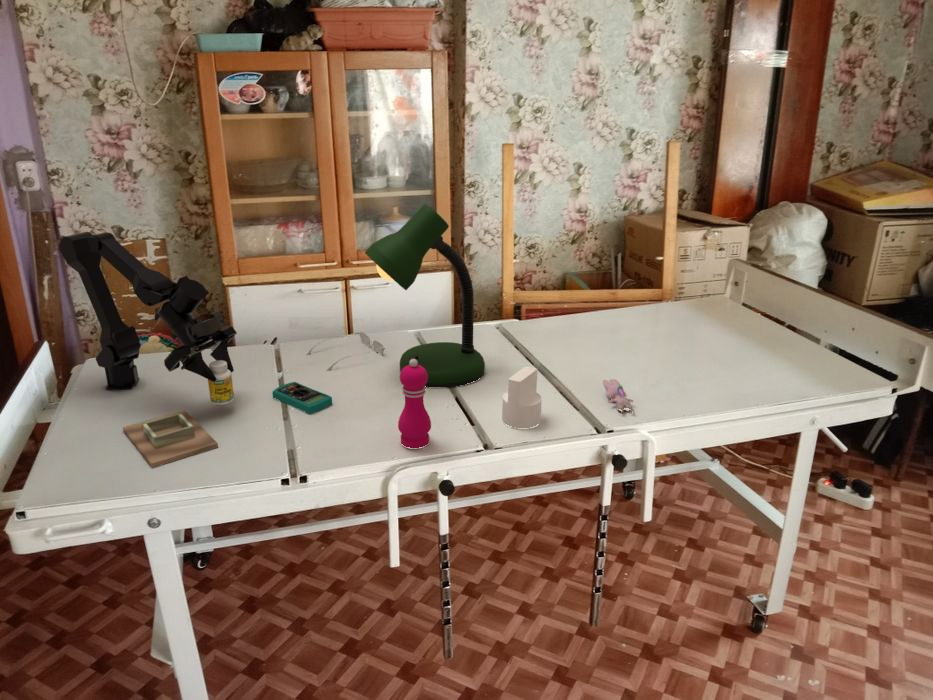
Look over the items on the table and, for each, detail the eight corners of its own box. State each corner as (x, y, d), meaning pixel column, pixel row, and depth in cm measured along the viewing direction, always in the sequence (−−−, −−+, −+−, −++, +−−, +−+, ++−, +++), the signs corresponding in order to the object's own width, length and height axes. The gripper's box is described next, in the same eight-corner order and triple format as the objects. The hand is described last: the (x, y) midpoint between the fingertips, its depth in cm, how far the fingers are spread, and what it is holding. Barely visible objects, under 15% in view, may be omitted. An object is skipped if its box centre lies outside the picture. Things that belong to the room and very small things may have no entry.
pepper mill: (398, 435, 169) (396, 353, 162) (430, 434, 170) (429, 352, 163) (398, 451, 163) (396, 366, 155) (432, 450, 163) (431, 365, 156)
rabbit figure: (638, 419, 181) (617, 384, 193) (642, 399, 178) (621, 365, 190) (613, 421, 180) (594, 386, 192) (617, 400, 177) (597, 366, 189)
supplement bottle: (230, 393, 182) (226, 357, 178) (237, 402, 178) (233, 364, 174) (207, 398, 179) (203, 361, 176) (214, 407, 175) (209, 369, 171)
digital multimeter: (294, 389, 192) (293, 379, 191) (333, 405, 184) (333, 395, 183) (271, 399, 187) (269, 388, 186) (310, 416, 178) (309, 405, 177)
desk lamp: (381, 398, 187) (375, 218, 170) (361, 364, 207) (353, 199, 190) (496, 381, 197) (501, 209, 180) (466, 350, 217) (468, 193, 200)
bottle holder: (123, 431, 170) (120, 417, 169) (185, 413, 178) (183, 400, 177) (152, 467, 156) (149, 452, 154) (218, 447, 164) (216, 432, 162)
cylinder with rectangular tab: (529, 433, 171) (531, 385, 166) (495, 423, 175) (496, 376, 171) (547, 418, 178) (549, 371, 174) (513, 408, 182) (515, 363, 178)
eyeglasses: (386, 358, 211) (385, 345, 210) (327, 373, 202) (326, 359, 200) (360, 342, 223) (359, 329, 222) (303, 355, 213) (302, 342, 212)
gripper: (167, 316, 163) (211, 373, 163) (226, 293, 179) (267, 344, 179) (145, 343, 169) (188, 398, 169) (205, 318, 185) (244, 368, 185)
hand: (224, 376), depth 175 cm, fingers closed on supplement bottle, 5 cm apart
